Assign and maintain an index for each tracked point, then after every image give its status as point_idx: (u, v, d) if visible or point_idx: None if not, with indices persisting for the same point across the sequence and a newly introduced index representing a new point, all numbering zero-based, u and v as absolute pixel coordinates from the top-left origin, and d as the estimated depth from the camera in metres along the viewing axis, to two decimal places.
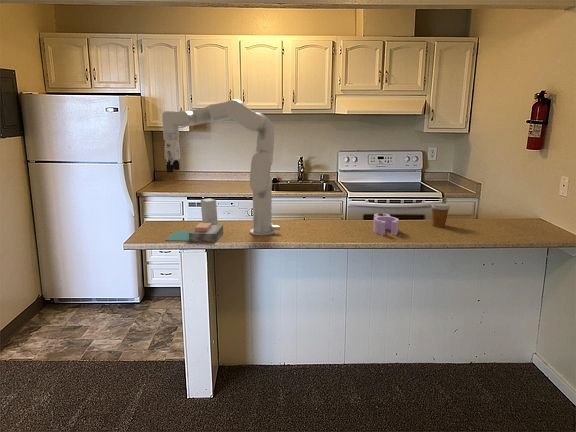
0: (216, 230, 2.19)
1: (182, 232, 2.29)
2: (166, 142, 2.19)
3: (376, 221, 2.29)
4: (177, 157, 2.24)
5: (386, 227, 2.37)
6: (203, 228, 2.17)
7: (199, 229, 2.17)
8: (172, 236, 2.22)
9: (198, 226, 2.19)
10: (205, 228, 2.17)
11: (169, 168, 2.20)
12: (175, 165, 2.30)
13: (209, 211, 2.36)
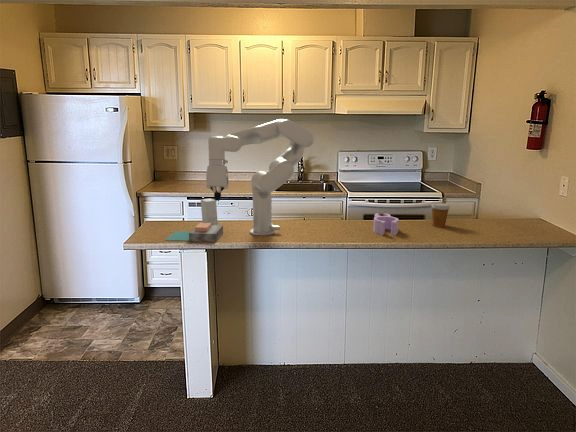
0: (216, 230, 2.19)
1: (182, 232, 2.29)
2: (225, 168, 2.13)
3: (376, 221, 2.29)
4: None
5: (386, 227, 2.37)
6: (203, 228, 2.17)
7: (199, 229, 2.17)
8: (172, 236, 2.22)
9: (198, 226, 2.19)
10: (205, 228, 2.17)
11: (220, 196, 2.17)
12: None
13: (209, 211, 2.36)
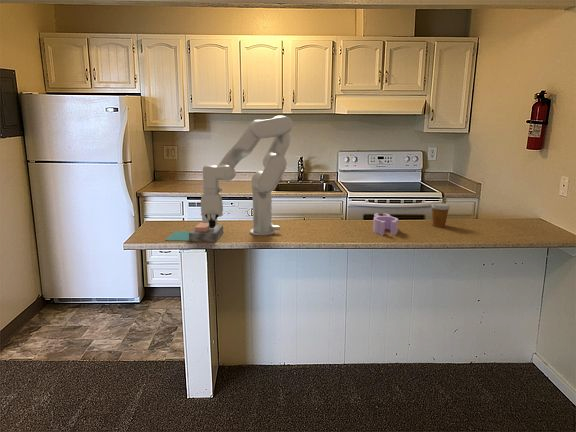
0: (216, 230, 2.19)
1: (182, 232, 2.29)
2: (219, 196, 2.16)
3: (376, 221, 2.29)
4: None
5: (386, 227, 2.38)
6: (203, 228, 2.17)
7: (199, 229, 2.17)
8: (172, 236, 2.22)
9: (198, 226, 2.19)
10: (205, 228, 2.17)
11: (215, 223, 2.21)
12: None
13: None
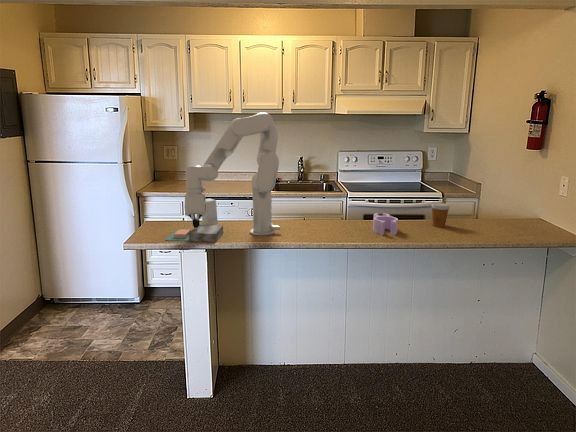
0: (216, 230, 2.19)
1: None
2: (203, 196, 2.17)
3: (375, 221, 2.29)
4: None
5: (386, 227, 2.38)
6: (177, 237, 2.19)
7: (181, 236, 2.19)
8: (172, 236, 2.22)
9: None
10: (175, 237, 2.19)
11: (199, 223, 2.22)
12: None
13: (209, 211, 2.36)
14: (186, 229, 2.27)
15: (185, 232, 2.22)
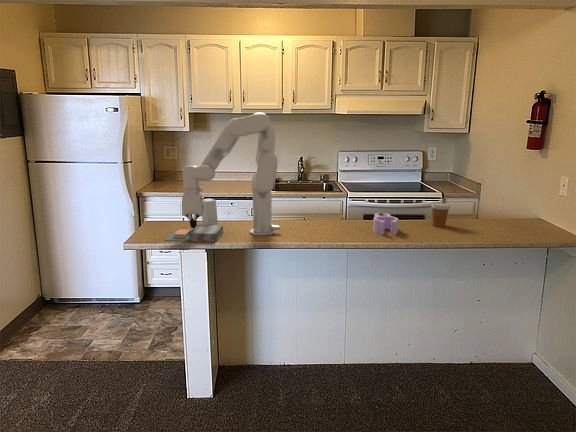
0: (216, 230, 2.19)
1: None
2: (200, 196, 2.17)
3: (375, 221, 2.30)
4: None
5: (386, 227, 2.38)
6: (177, 237, 2.19)
7: (181, 236, 2.19)
8: (172, 236, 2.22)
9: None
10: (175, 237, 2.19)
11: (196, 223, 2.22)
12: None
13: (209, 211, 2.36)
14: (186, 229, 2.27)
15: (185, 232, 2.22)
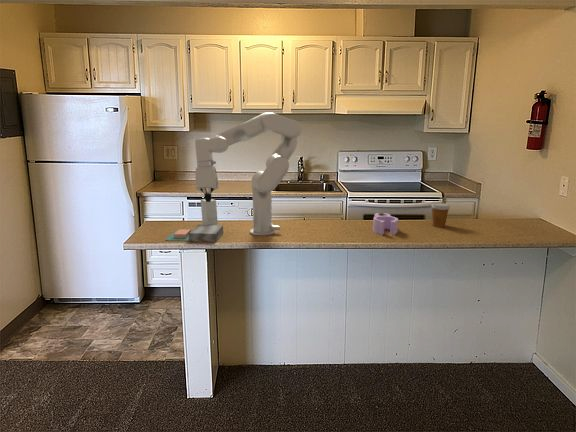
0: (216, 230, 2.19)
1: None
2: (214, 169, 2.14)
3: (375, 220, 2.30)
4: None
5: (386, 227, 2.38)
6: (177, 237, 2.19)
7: (181, 236, 2.19)
8: (172, 236, 2.22)
9: None
10: (175, 237, 2.19)
11: (211, 197, 2.18)
12: None
13: (209, 211, 2.36)
14: (186, 229, 2.27)
15: (185, 232, 2.22)
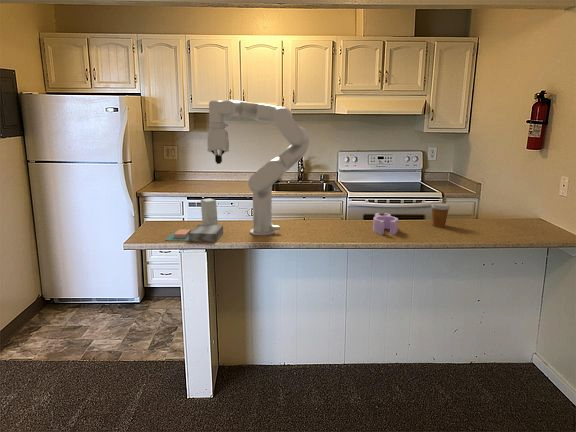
0: (216, 230, 2.19)
1: None
2: (225, 131, 2.21)
3: (375, 220, 2.30)
4: None
5: (386, 227, 2.38)
6: (177, 237, 2.19)
7: (181, 236, 2.19)
8: (172, 236, 2.22)
9: None
10: (175, 237, 2.19)
11: (221, 159, 2.25)
12: None
13: (209, 211, 2.36)
14: (186, 229, 2.27)
15: (185, 232, 2.22)
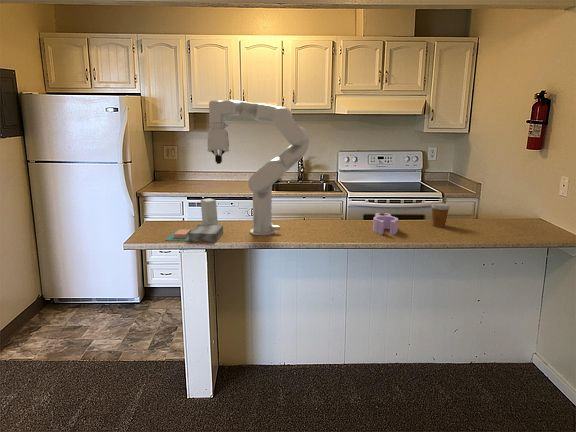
0: (216, 230, 2.19)
1: None
2: (226, 131, 2.21)
3: (375, 220, 2.30)
4: None
5: (386, 227, 2.38)
6: (177, 237, 2.19)
7: (181, 236, 2.19)
8: (172, 236, 2.22)
9: None
10: (175, 237, 2.19)
11: (221, 159, 2.25)
12: None
13: (209, 211, 2.36)
14: (186, 229, 2.27)
15: (185, 232, 2.22)
